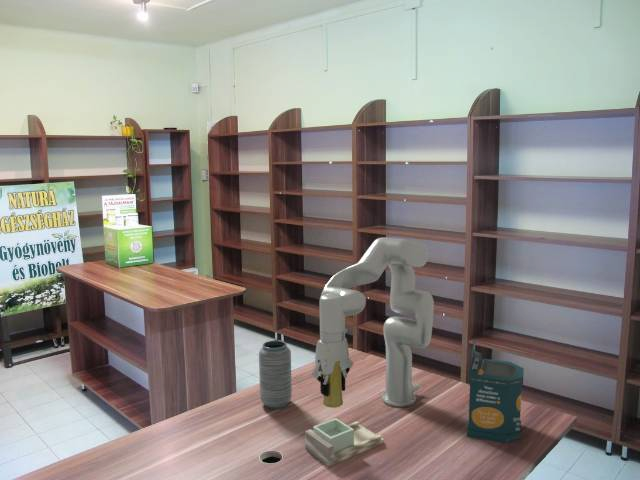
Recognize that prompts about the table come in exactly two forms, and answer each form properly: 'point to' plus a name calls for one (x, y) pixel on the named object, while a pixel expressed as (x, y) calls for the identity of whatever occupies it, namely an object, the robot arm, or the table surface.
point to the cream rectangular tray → (361, 443)
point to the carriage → (336, 434)
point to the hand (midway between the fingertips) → (333, 391)
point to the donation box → (494, 399)
